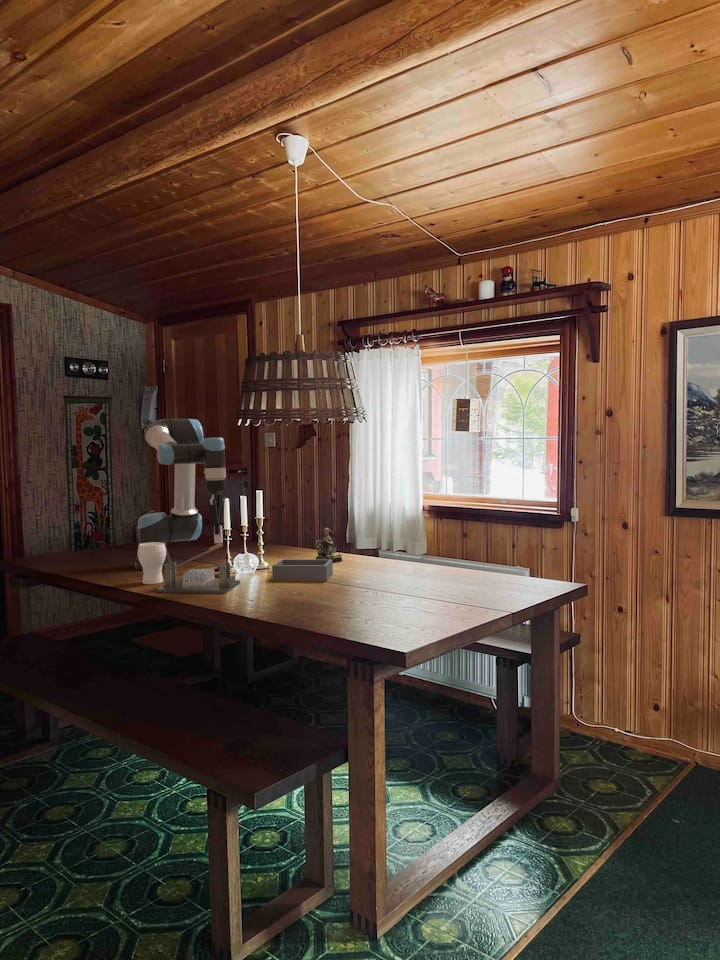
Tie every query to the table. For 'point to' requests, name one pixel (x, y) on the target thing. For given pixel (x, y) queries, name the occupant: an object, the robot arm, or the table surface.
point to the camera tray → (302, 570)
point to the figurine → (327, 548)
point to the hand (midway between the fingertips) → (218, 542)
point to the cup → (152, 561)
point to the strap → (198, 555)
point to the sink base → (196, 590)
